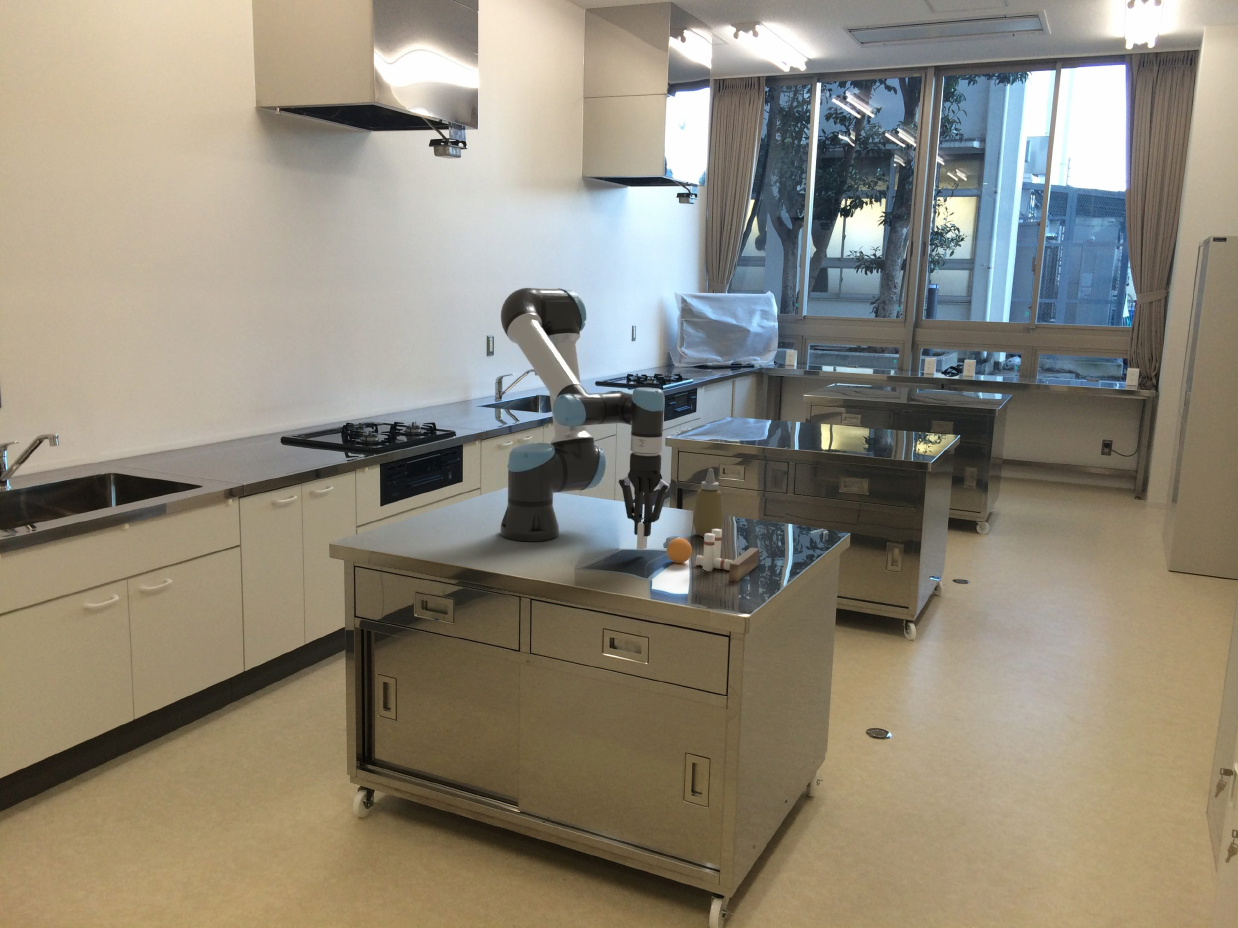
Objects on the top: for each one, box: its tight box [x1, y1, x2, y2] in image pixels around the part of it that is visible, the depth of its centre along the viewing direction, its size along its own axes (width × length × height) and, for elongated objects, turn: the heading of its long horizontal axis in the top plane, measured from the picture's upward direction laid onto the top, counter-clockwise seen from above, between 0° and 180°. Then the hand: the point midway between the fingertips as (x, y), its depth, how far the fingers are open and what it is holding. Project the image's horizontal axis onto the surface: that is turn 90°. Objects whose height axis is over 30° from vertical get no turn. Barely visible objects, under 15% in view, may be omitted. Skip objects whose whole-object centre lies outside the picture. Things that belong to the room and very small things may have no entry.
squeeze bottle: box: [692, 468, 724, 537], centre depth 259 cm, size 8×8×18 cm
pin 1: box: [702, 533, 715, 572], centre depth 228 cm, size 2×2×8 cm
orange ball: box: [666, 537, 693, 564], centre depth 233 cm, size 6×6×6 cm
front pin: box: [694, 554, 733, 571], centre depth 230 cm, size 2×2×8 cm
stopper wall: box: [728, 547, 760, 582], centre depth 227 cm, size 2×16×4 cm, turn 156°
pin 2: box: [712, 528, 723, 559], centre depth 232 cm, size 2×2×8 cm
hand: (641, 548), depth 238 cm, fingers closed
